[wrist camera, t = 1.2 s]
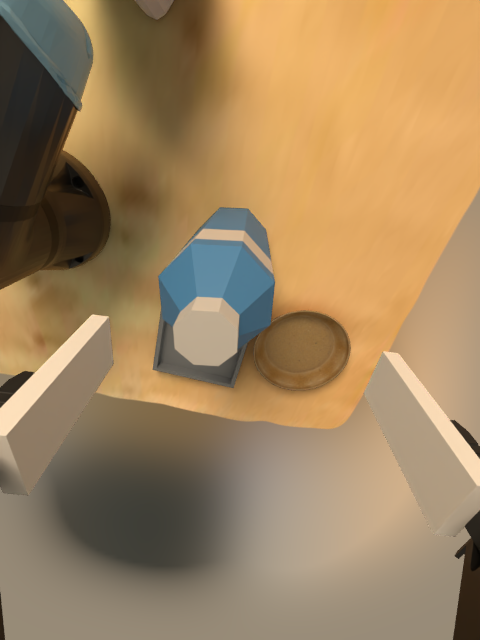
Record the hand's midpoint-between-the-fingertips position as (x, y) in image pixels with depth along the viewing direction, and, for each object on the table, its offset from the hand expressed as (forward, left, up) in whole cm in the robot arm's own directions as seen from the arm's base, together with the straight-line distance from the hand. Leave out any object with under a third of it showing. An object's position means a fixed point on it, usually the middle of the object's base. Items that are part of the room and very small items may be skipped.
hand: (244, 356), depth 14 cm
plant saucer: (+12, -15, -29) cm, 34 cm away
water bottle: (-2, -2, -28) cm, 28 cm away
